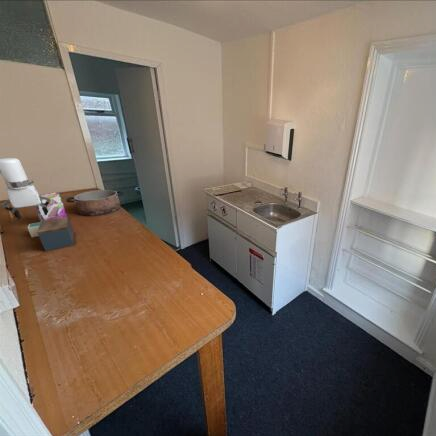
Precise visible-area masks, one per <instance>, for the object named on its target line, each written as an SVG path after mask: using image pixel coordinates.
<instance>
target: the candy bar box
mask: <svg viewBox="0 0 436 436" xmlns="http://www.w3.org/2000/svg"><path fill="white" fill-rule="evenodd" d="M39 195H40V196H44V197H49V198H51V199H50V202H49V204H48V205H47V206H46V207H47V209H48V213H47V215H45V214H44V212H43V209H42V207H41V206H39V205H35V206H33V207H34V210H35V211H36V214H37V216H38V219H39V221H40V222H41V221H42V220H48V219H55V218H61V217H67V216H68V214H67V211H66V208H65V206H64V202H63V200H62V196H61V194H60V193H58V192H51V193H46V194H39ZM42 203H44V204H45V203H46V200H44V199H42Z"/></svg>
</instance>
